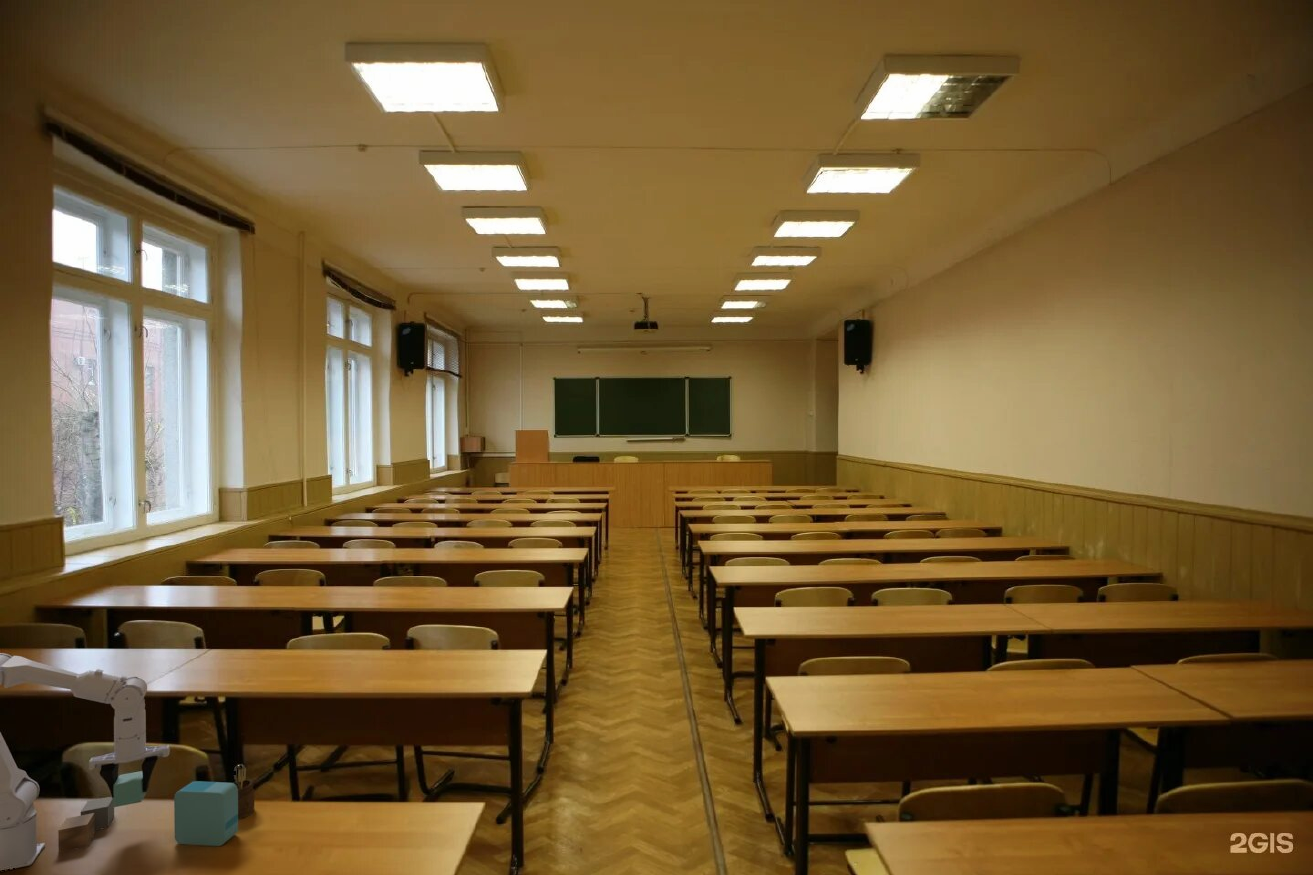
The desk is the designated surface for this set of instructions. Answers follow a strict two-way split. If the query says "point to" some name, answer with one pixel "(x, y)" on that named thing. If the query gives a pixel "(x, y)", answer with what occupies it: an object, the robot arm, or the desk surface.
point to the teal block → (128, 789)
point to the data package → (206, 813)
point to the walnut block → (76, 832)
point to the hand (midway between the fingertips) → (130, 792)
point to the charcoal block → (100, 811)
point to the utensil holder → (244, 795)
